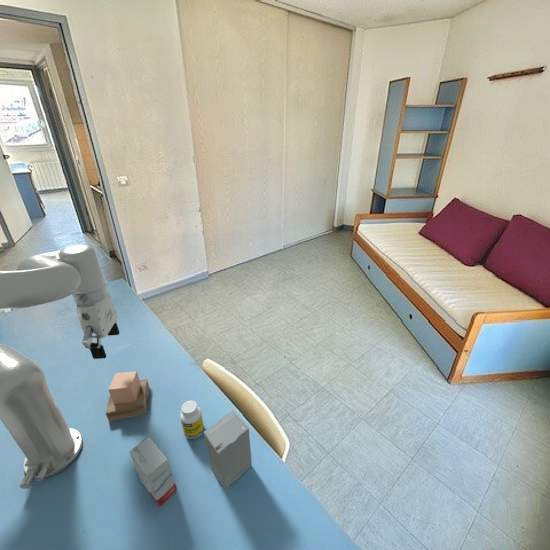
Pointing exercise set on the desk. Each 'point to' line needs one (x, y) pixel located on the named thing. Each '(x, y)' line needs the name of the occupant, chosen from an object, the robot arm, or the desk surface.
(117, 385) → the terracotta cube
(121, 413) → the walnut block
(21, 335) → the desk surface
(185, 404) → the supplement bottle
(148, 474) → the ink box
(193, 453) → the desk surface
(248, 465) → the skincare box
